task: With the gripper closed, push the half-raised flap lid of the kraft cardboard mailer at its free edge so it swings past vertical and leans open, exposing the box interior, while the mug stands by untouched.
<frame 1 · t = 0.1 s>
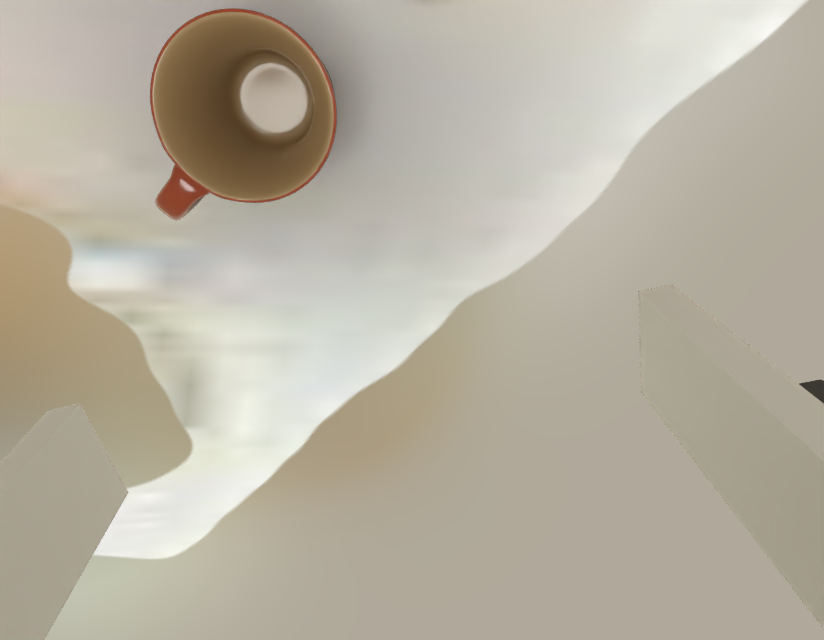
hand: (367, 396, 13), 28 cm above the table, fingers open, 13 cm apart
mug: (263, 116, 37), on the table
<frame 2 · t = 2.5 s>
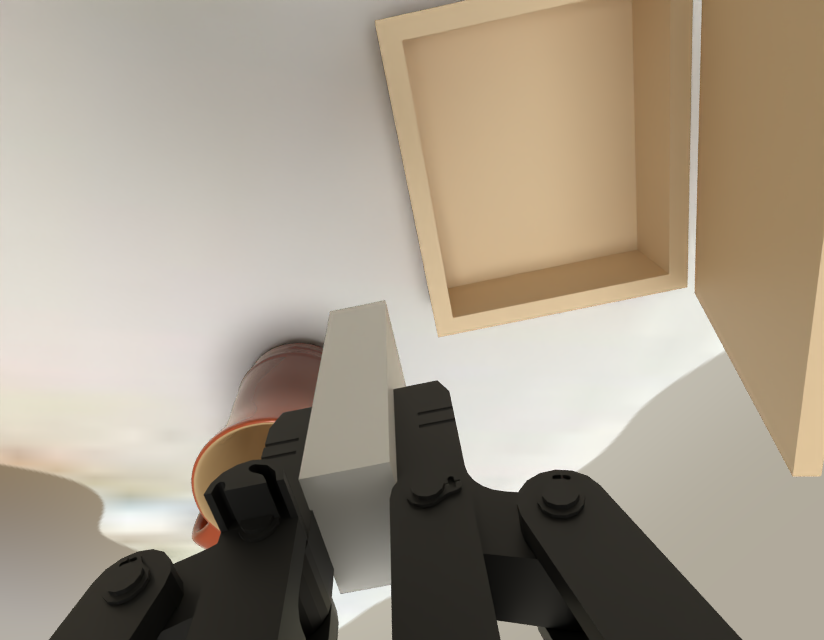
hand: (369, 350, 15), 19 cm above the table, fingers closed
mug: (286, 396, 39), on the table
lid: (801, 171, 21), point 13 cm above the table, hinge at 75.0°
mailer box: (525, 152, 33), on the table
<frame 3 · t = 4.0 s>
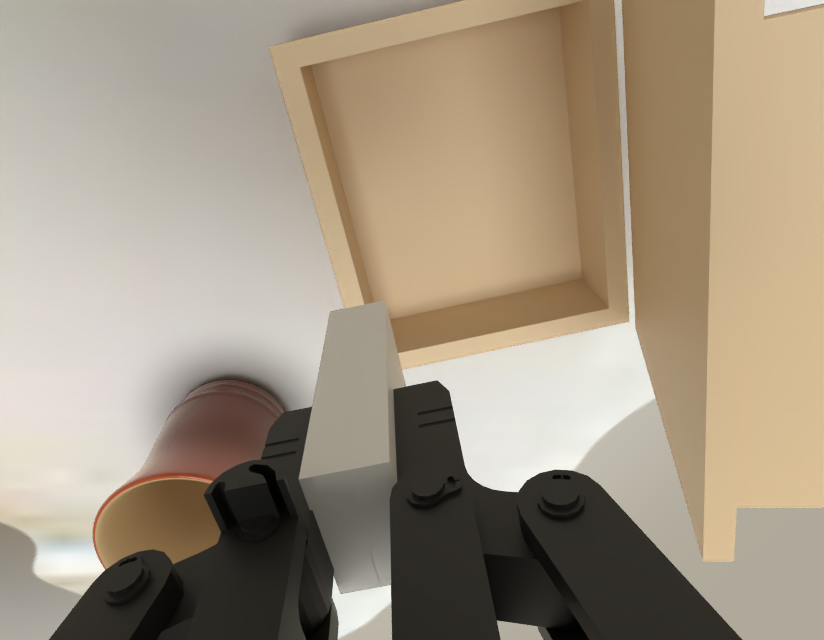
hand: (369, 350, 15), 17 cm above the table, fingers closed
mug: (221, 434, 37), on the table
lid: (718, 212, 18), point 13 cm above the table, hinge at 75.0°
mailer box: (457, 178, 31), on the table
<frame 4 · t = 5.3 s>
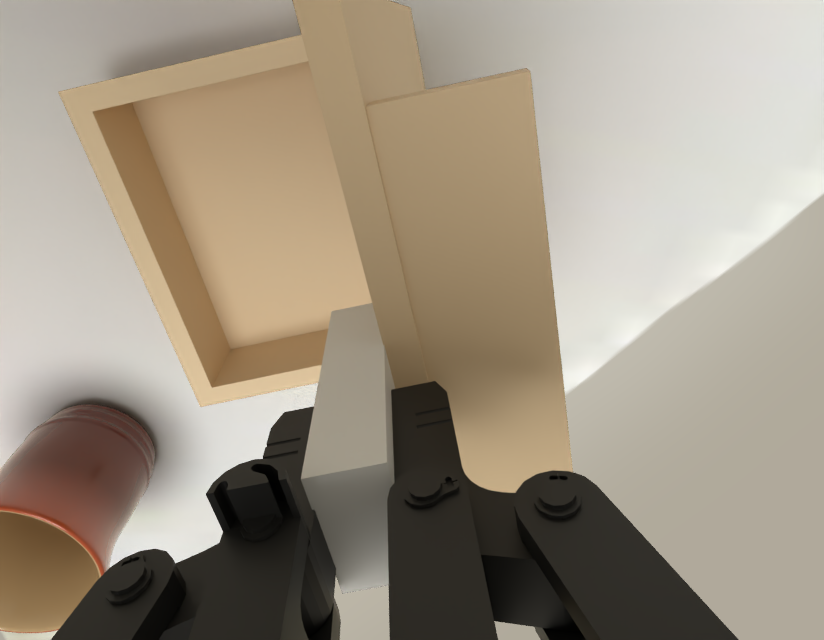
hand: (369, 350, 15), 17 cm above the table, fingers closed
mug: (91, 455, 38), on the table
lid: (473, 260, 19), point 13 cm above the table, hinge at 82.0°, touching gripper
mailer box: (296, 210, 31), on the table
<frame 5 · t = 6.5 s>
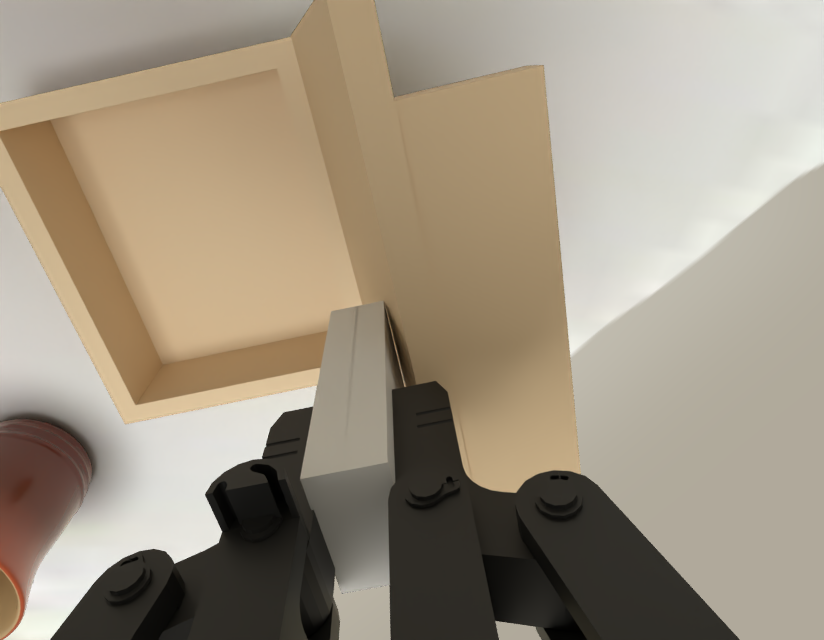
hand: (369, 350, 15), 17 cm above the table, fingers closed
mug: (29, 469, 37), on the table
lid: (421, 268, 19), point 12 cm above the table, hinge at 100.4°, touching gripper
mailer box: (223, 227, 31), on the table
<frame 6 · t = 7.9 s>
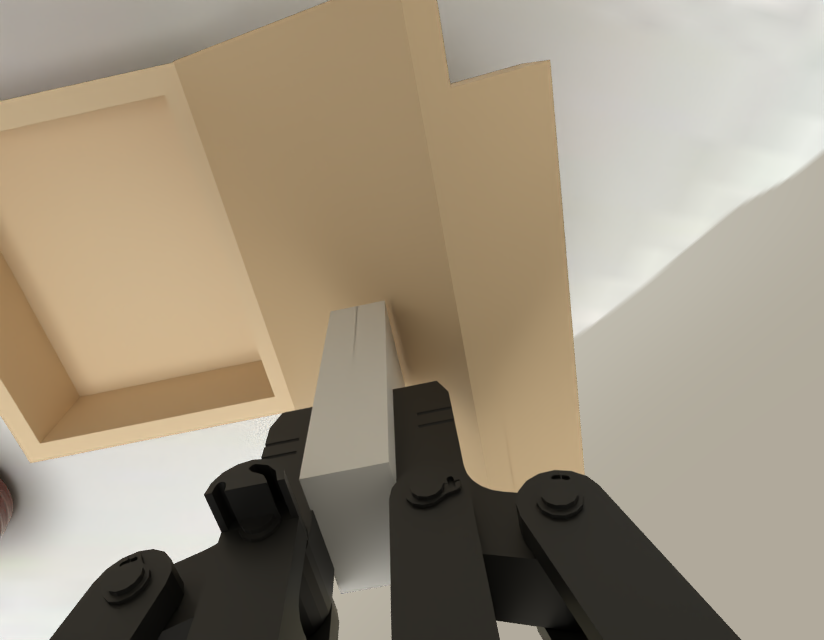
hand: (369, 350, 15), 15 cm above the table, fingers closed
lid: (371, 280, 19), point 11 cm above the table, hinge at 124.2°, touching gripper
mailer box: (137, 254, 29), on the table
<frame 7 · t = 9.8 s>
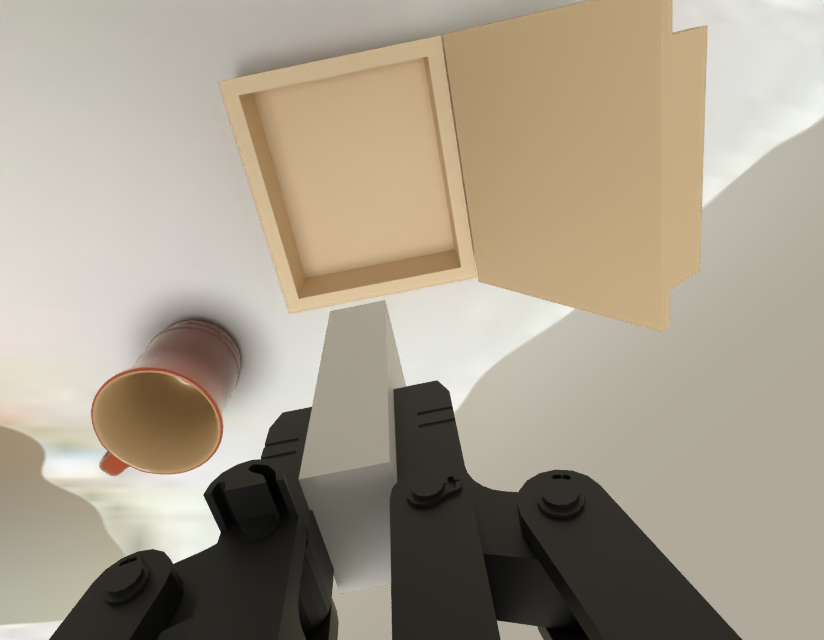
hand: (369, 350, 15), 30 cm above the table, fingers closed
mug: (189, 364, 49), on the table
lid: (567, 164, 33), point 11 cm above the table, hinge at 124.2°
mailer box: (360, 173, 43), on the table
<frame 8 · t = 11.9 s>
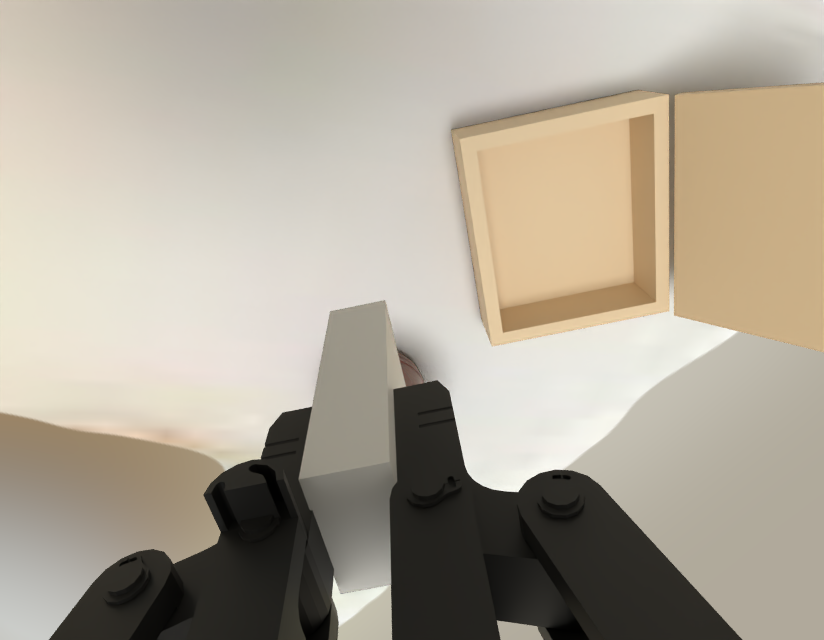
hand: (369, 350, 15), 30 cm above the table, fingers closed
mug: (370, 390, 52), on the table
lid: (797, 216, 35), point 11 cm above the table, hinge at 124.2°
mailer box: (553, 213, 45), on the table
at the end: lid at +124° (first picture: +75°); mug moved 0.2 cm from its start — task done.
